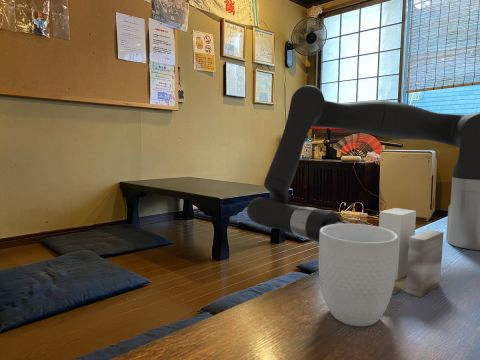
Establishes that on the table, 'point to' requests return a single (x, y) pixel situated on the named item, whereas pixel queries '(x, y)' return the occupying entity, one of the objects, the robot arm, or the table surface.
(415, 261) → the gauge base
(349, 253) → the mug
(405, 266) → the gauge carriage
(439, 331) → the table surface
